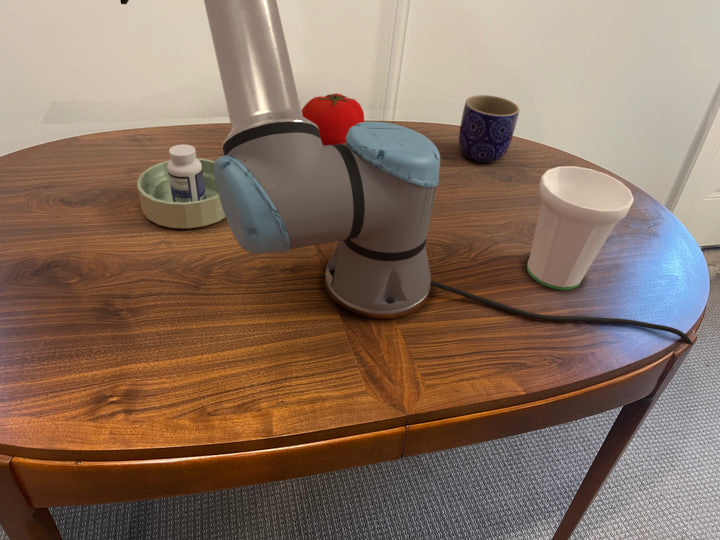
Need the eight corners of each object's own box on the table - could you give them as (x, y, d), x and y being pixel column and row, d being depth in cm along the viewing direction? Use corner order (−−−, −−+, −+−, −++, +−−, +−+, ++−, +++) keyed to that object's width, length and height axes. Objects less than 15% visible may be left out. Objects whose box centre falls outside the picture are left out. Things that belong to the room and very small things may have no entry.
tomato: (368, 162, 108) (374, 107, 101) (302, 165, 105) (303, 108, 98) (355, 136, 117) (359, 84, 110) (294, 138, 114) (294, 84, 107)
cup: (546, 306, 77) (581, 217, 68) (498, 256, 86) (523, 171, 76) (612, 290, 81) (654, 203, 72) (560, 243, 90) (591, 161, 81)
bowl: (254, 203, 93) (253, 177, 90) (186, 242, 82) (182, 215, 79) (193, 174, 99) (190, 149, 96) (122, 207, 89) (116, 181, 85)
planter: (459, 140, 119) (469, 91, 112) (508, 150, 117) (522, 100, 110) (450, 161, 111) (461, 109, 104) (503, 172, 109) (517, 120, 102)
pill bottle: (197, 191, 93) (190, 139, 87) (212, 205, 90) (206, 152, 84) (167, 200, 90) (158, 146, 84) (181, 214, 87) (173, 160, 81)
